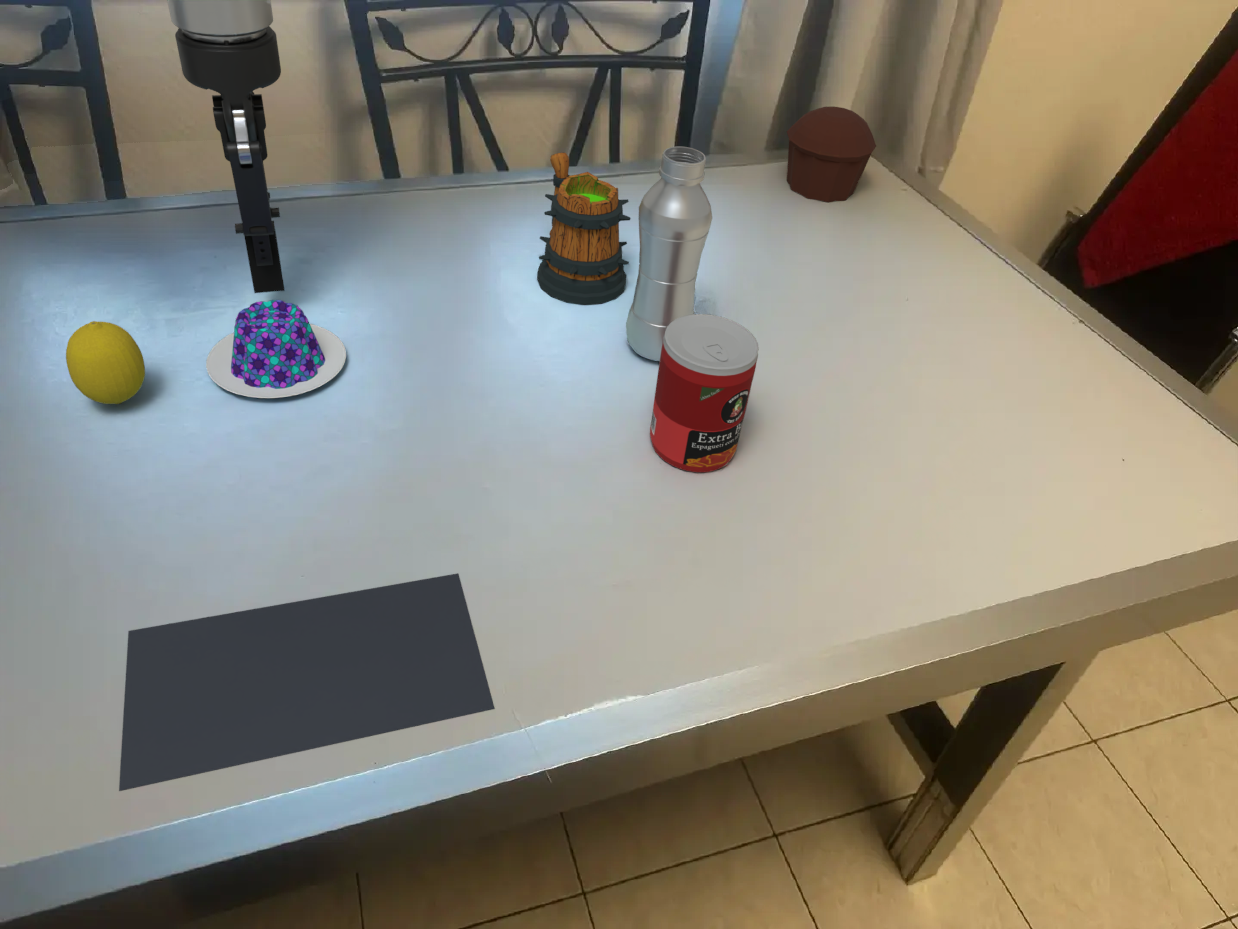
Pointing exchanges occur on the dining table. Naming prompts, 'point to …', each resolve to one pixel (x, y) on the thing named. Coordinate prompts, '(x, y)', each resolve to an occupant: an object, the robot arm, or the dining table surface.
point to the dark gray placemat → (297, 678)
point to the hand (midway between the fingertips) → (269, 287)
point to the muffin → (828, 153)
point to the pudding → (275, 353)
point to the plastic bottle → (669, 249)
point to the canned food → (702, 391)
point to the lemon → (105, 362)
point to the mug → (582, 239)
